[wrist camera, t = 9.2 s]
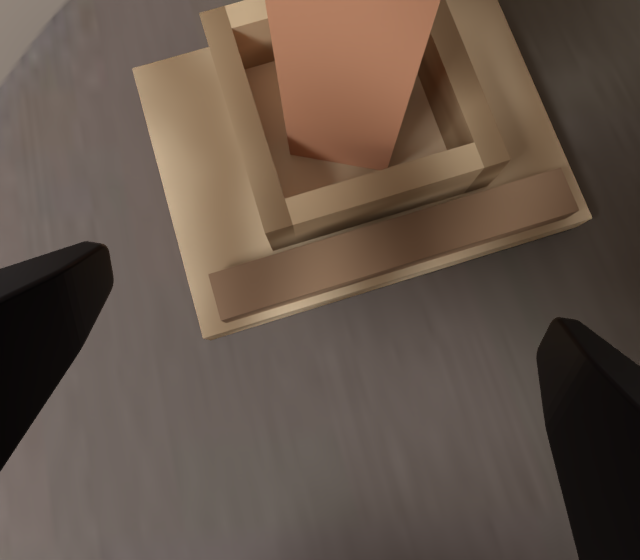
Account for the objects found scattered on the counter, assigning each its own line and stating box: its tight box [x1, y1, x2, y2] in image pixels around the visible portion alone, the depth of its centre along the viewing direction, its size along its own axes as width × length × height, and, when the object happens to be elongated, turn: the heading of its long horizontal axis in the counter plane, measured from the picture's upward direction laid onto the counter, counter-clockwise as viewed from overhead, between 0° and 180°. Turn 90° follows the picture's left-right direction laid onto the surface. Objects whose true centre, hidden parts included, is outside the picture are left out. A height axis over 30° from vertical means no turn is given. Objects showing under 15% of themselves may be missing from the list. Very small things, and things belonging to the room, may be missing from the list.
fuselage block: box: [265, 0, 440, 170], centre depth 14 cm, size 4×4×12 cm
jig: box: [132, 0, 592, 340], centre depth 19 cm, size 16×12×4 cm
